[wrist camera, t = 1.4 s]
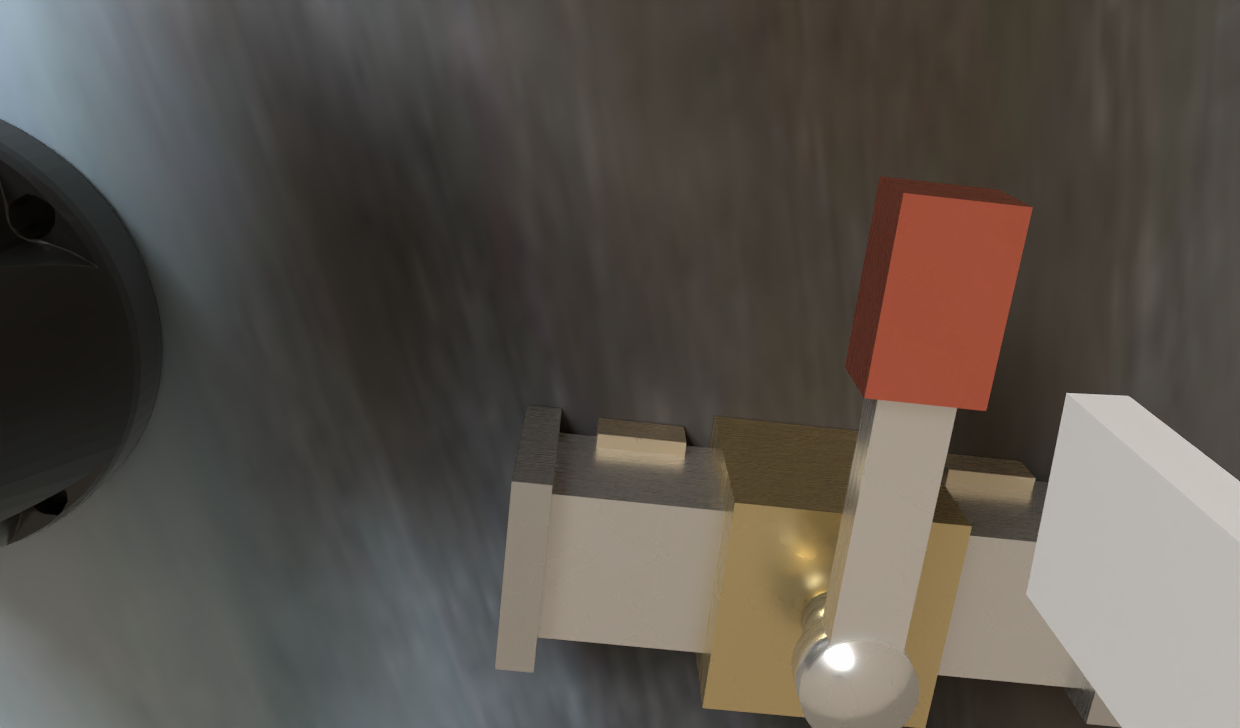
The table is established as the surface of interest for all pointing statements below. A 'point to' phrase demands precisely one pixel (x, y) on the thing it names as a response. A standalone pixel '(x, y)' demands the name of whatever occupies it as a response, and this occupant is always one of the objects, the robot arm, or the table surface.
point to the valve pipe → (759, 558)
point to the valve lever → (906, 430)
